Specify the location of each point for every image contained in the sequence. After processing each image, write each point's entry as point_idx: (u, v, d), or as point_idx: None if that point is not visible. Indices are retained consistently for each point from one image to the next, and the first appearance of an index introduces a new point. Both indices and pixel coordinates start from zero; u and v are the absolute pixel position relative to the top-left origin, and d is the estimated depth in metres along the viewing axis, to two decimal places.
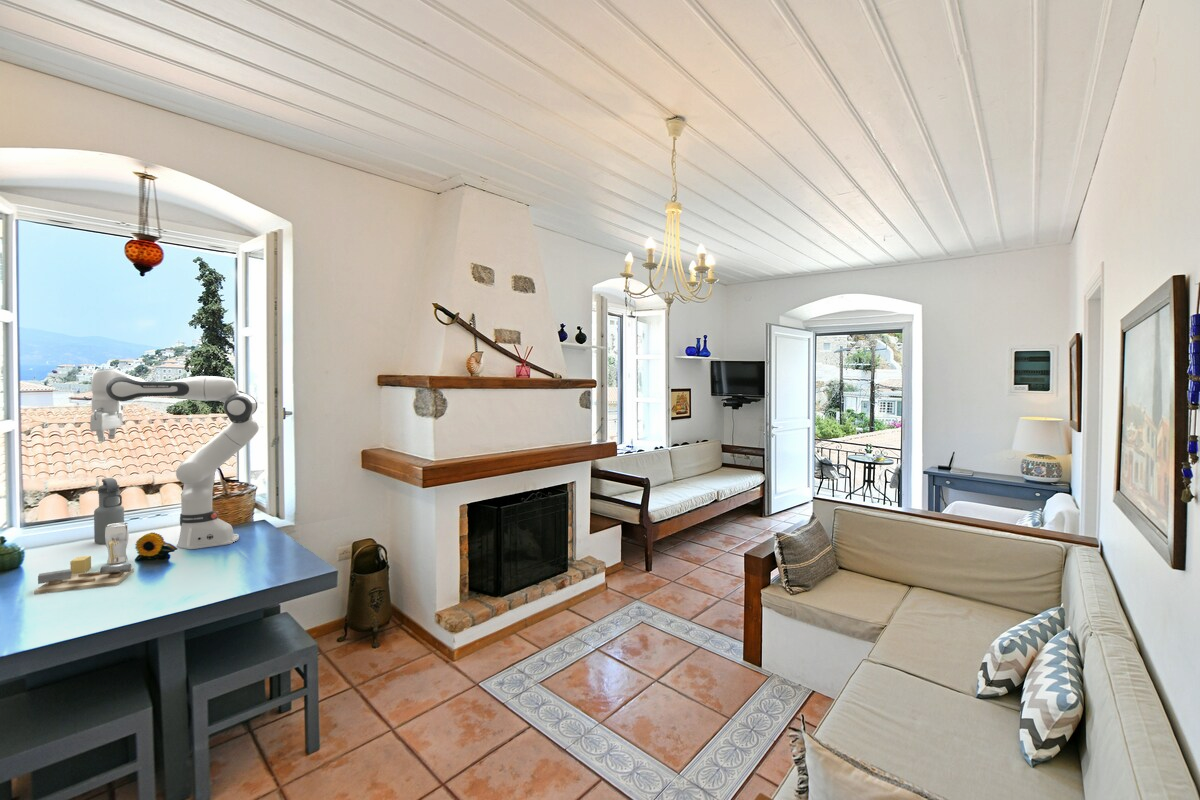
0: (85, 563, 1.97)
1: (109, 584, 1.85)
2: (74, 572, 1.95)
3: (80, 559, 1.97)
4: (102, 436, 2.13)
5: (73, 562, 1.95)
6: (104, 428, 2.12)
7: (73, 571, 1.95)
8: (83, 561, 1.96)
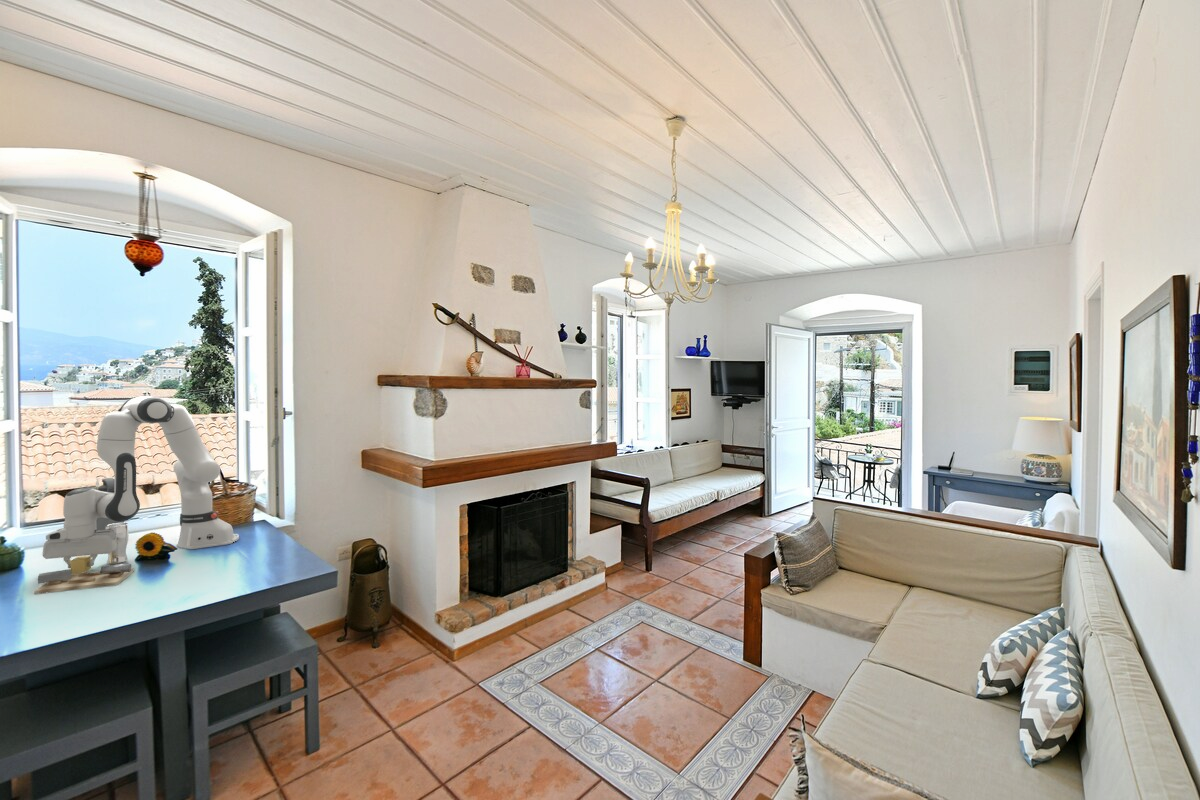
0: (85, 563, 1.97)
1: (109, 584, 1.85)
2: (74, 572, 1.95)
3: (80, 559, 1.97)
4: (94, 559, 2.00)
5: (73, 562, 1.95)
6: None
7: (73, 571, 1.95)
8: (83, 561, 1.96)
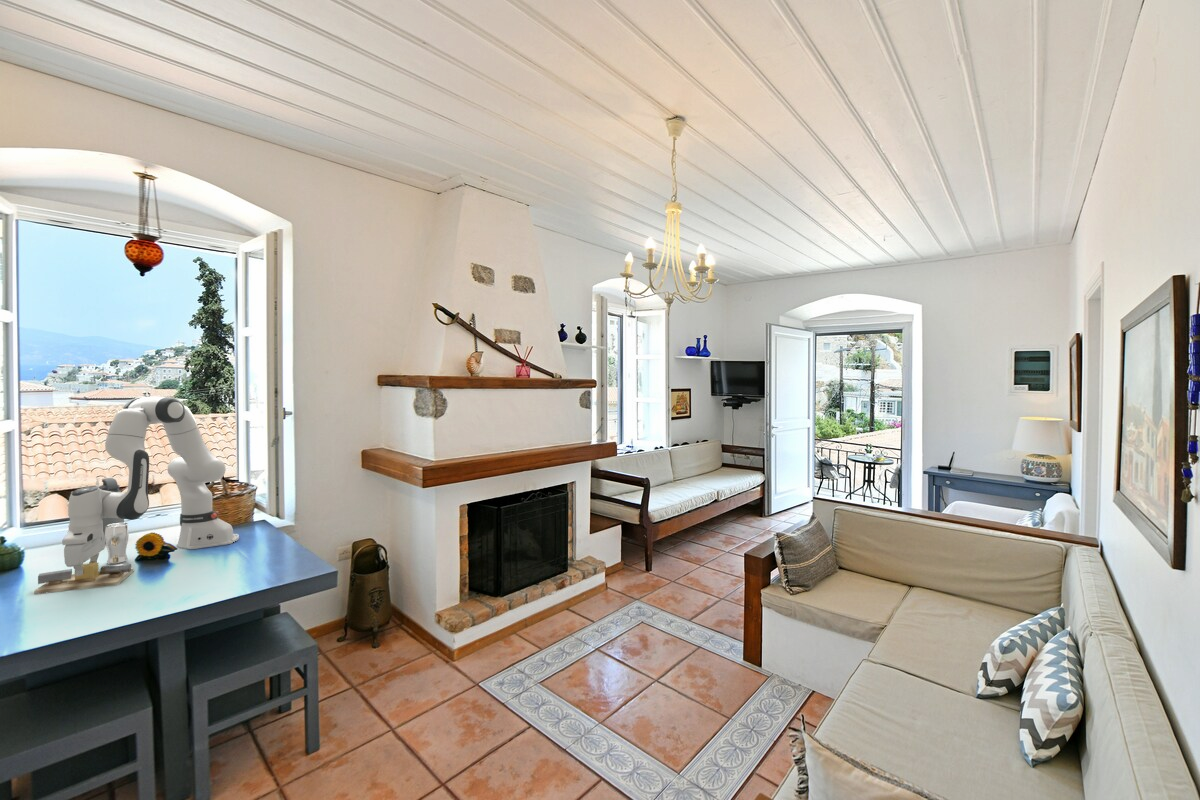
0: None
1: (109, 584, 1.85)
2: (94, 577, 1.88)
3: (91, 564, 1.89)
4: None
5: (94, 566, 1.88)
6: None
7: (94, 576, 1.88)
8: None
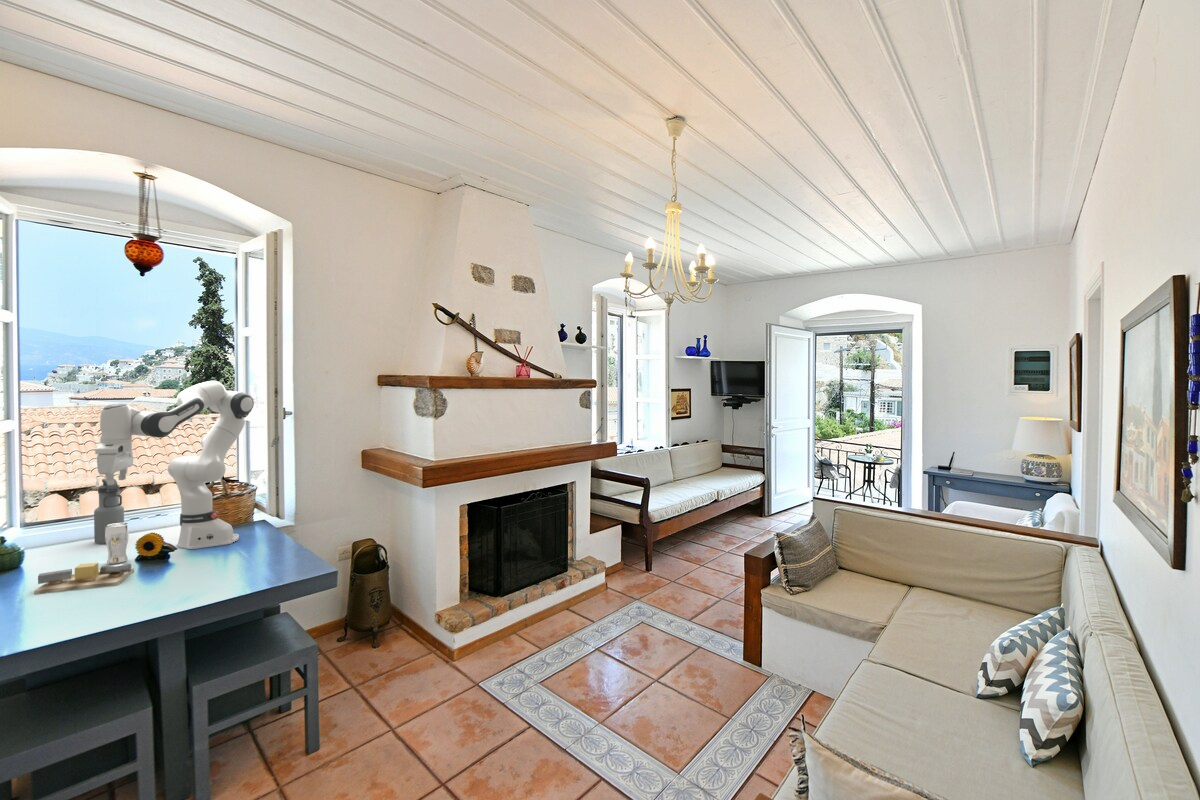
0: None
1: (109, 584, 1.85)
2: (94, 577, 1.88)
3: (91, 564, 1.89)
4: None
5: (94, 566, 1.88)
6: None
7: (94, 576, 1.88)
8: None
